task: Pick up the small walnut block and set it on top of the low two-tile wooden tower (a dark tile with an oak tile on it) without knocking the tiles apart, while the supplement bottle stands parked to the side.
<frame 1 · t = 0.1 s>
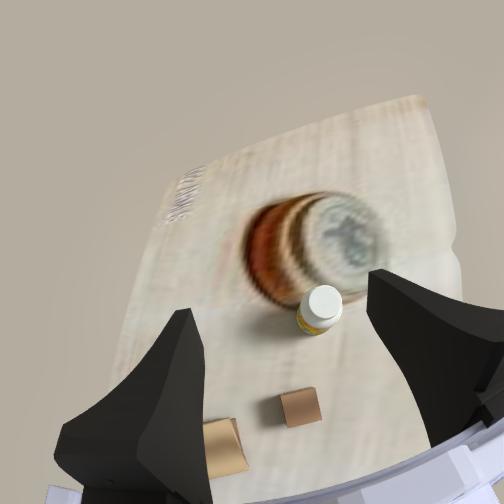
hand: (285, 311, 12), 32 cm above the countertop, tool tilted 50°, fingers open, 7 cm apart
supplement bottle: (314, 317, 43), on the countertop
tile top: (211, 449, 35), point 1 cm above the countertop
block: (298, 405, 38), on the countertop
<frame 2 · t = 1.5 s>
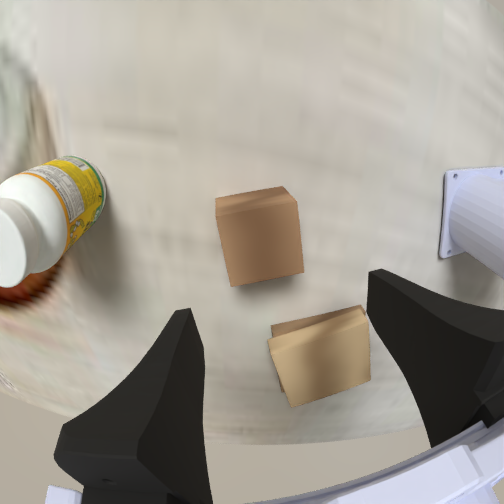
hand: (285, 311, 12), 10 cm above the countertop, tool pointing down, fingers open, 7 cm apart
supplement bottle: (75, 191, 19), on the countertop
tile top: (321, 356, 26), point 1 cm above the countertop, touching tile bottom
block: (254, 222, 21), on the countertop
tile bottom: (316, 343, 27), on the countertop, touching tile top
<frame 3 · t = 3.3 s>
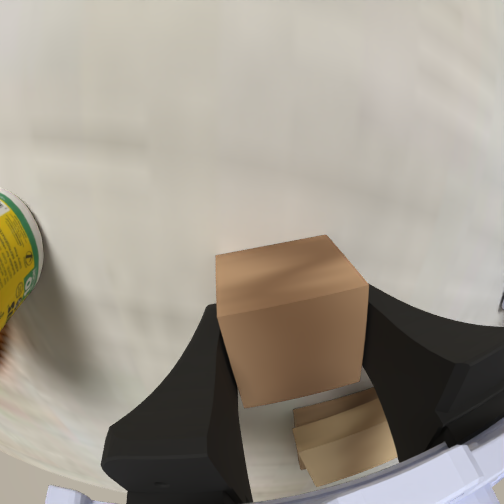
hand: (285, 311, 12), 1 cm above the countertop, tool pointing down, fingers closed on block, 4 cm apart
supplement bottle: (5, 239, 11), on the countertop
tile top: (357, 434, 18), point 1 cm above the countertop, touching tile bottom
block: (278, 292, 13), on the countertop, touching gripper
tile bottom: (346, 417, 19), on the countertop, touching tile top
when the fingers open (6 cm above the countertop, at t = 6.9 s): block drops 2 cm, resting on tile top.
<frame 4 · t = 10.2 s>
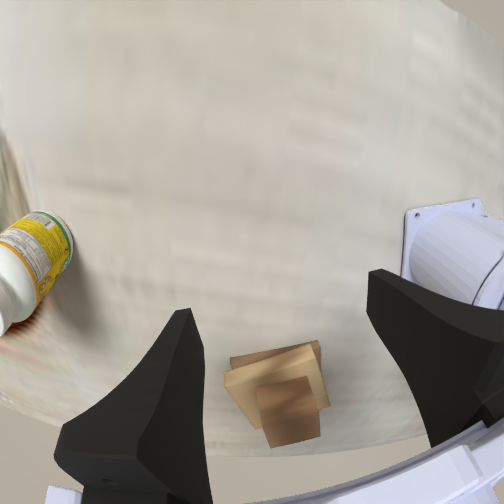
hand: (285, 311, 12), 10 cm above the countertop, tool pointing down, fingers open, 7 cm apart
supplement bottle: (47, 240, 20), on the countertop
tile top: (279, 384, 27), point 1 cm above the countertop, touching block, tile bottom
block: (284, 396, 25), point 3 cm above the countertop, touching tile top
tile bottom: (276, 372, 29), on the countertop, touching tile top
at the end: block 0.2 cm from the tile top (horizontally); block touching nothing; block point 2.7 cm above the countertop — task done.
